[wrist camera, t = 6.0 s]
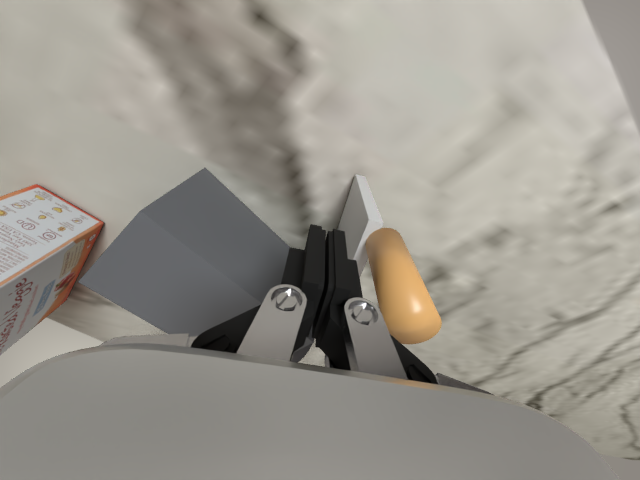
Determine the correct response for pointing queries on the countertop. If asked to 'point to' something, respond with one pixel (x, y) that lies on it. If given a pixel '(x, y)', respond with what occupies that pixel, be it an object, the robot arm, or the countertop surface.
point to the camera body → (192, 260)
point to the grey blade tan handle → (388, 268)
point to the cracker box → (39, 257)
